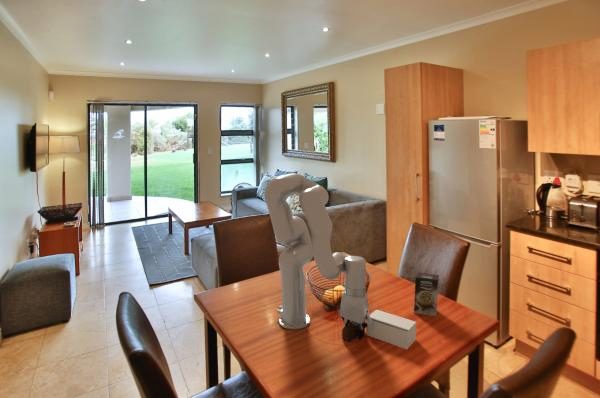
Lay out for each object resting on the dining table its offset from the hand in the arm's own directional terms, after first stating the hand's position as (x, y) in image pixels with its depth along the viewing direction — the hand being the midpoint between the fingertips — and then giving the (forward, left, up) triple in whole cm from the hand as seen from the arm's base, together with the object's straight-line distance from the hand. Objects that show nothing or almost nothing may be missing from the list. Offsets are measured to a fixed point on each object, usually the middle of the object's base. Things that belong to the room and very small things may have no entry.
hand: (354, 334), depth 137 cm
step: (+11, +7, 0) cm, 13 cm away
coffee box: (+14, +34, -1) cm, 37 cm away
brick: (0, 0, -1) cm, 1 cm away
